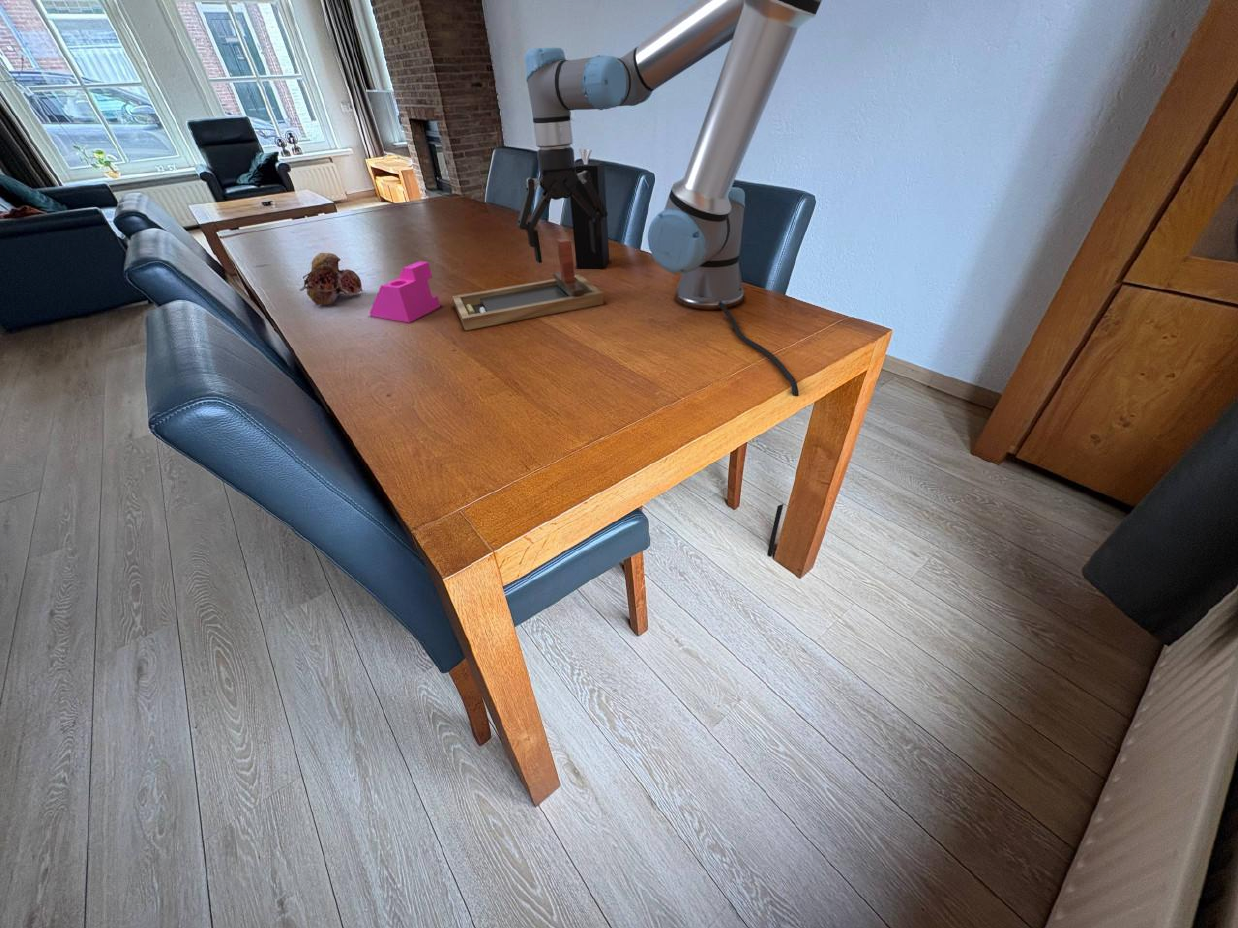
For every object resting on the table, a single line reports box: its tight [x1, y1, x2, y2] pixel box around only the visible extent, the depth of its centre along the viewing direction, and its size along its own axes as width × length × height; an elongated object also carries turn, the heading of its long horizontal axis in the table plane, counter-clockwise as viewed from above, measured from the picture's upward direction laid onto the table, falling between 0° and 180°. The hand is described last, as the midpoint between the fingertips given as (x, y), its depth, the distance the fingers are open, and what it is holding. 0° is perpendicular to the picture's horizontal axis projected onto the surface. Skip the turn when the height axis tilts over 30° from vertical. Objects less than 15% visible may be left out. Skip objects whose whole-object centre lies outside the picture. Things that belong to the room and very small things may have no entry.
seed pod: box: [299, 252, 364, 306], centre depth 122 cm, size 13×16×15 cm
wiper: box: [553, 237, 585, 297], centre depth 114 cm, size 15×3×11 cm, turn 23°
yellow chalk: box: [466, 304, 475, 315], centre depth 113 cm, size 5×1×1 cm
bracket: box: [369, 261, 441, 324], centre depth 113 cm, size 12×10×10 cm
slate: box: [451, 274, 604, 331], centre depth 115 cm, size 16×32×3 cm, turn 113°
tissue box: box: [569, 148, 610, 269], centre depth 131 cm, size 8×8×28 cm
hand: (567, 256), depth 113 cm, fingers open, 13 cm apart
